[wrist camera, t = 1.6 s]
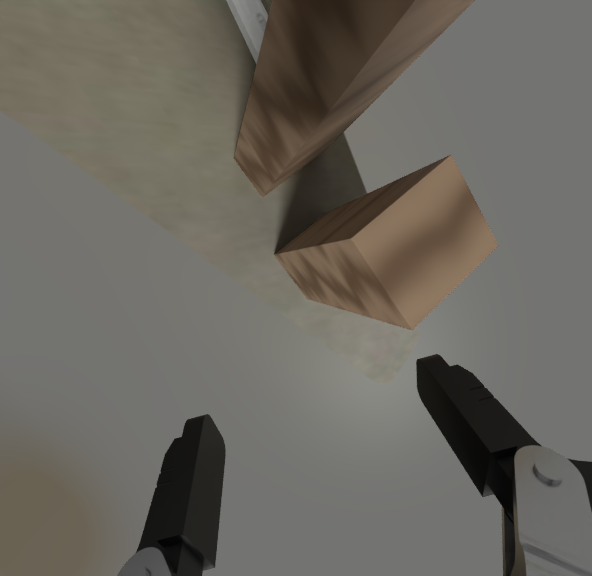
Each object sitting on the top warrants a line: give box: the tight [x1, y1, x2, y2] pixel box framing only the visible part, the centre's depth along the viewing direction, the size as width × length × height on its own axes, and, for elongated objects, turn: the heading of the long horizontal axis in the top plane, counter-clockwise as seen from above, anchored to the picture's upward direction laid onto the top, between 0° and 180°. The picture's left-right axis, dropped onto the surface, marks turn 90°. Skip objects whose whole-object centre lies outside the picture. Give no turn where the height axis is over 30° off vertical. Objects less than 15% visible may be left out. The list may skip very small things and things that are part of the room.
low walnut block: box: [274, 155, 498, 330], centre depth 31 cm, size 8×10×22 cm
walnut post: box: [234, 0, 474, 197], centre depth 23 cm, size 6×11×32 cm, turn 128°
